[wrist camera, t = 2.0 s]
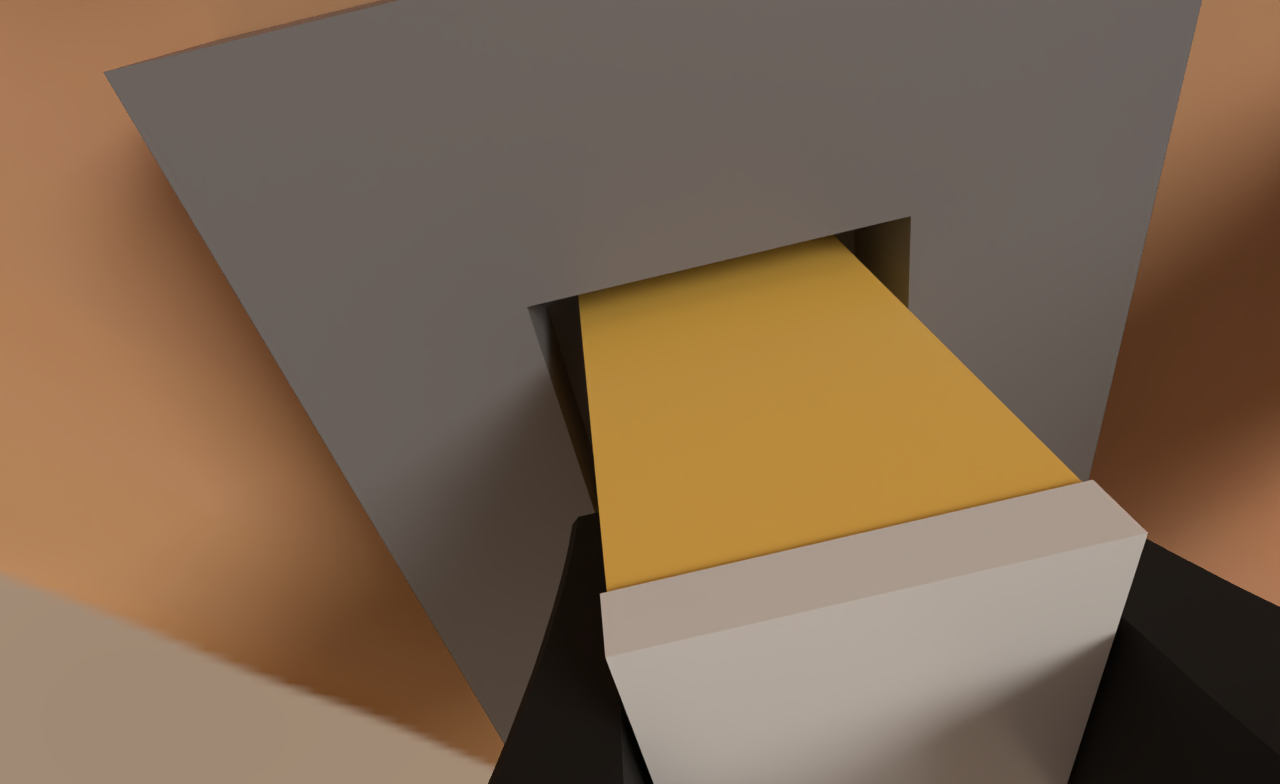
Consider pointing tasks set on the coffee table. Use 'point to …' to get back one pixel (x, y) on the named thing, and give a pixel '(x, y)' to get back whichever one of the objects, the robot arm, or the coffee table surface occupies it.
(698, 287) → the block
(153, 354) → the coffee table surface
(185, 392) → the coffee table surface
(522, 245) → the block
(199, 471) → the coffee table surface
